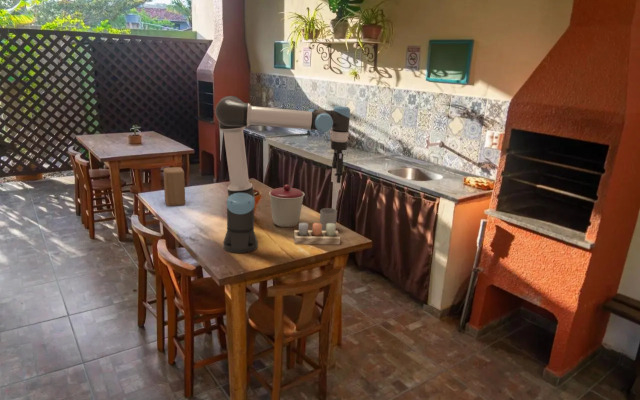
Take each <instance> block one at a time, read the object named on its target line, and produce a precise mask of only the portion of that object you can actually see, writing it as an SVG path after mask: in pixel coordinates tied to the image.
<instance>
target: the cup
mask: <svg viewBox="0 0 640 400" xmlns="http://www.w3.org/2000/svg"><path fill="white" fill-rule="evenodd" d="M319 214H320V215H319V223H321V224H322V231H326V224H327V223H334V224H336V225H337V220H338V219H337V217H338V210H337V209H335V208H330V207H329V208H328V207H325V208H321V209H320V211H319ZM336 229H337V228H336ZM336 229H335V230H336ZM336 231H337V230H336Z"/></svg>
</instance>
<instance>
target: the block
mask: <svg viewBox="0 0 640 400" xmlns="http://www.w3.org/2000/svg"><path fill="white" fill-rule="evenodd" d="M185 181H186V180H185V171H184V169H183V168H182V167H180V166H177V167H165V168H163V185H164V187H163V188H164V202H165V204H166V206H167V207H173V206H184V205H186V189H185V188H186V187H185V184H186V183H185Z"/></svg>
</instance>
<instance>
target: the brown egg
mask: <svg viewBox="0 0 640 400" xmlns="http://www.w3.org/2000/svg"><path fill="white" fill-rule="evenodd" d="M311 230H312V235H314V236H321V235H322V224H321V223H320V222H313V223H312V229H311Z"/></svg>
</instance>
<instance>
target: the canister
mask: <svg viewBox="0 0 640 400" xmlns="http://www.w3.org/2000/svg"><path fill="white" fill-rule="evenodd" d="M268 196H270V198H269V199H270V209H271V217H272V222H273V224H274V225H276V226H278V227H281V228H290V227H296V226H297V225H299V223H300V218H301V214H302V207H303V201H304V197H305V192H304V191H302V190H300V189H298V188H294V187H291V185H290V184H284V185H283V187H277V188H273V189H272V190H270V191H269V192H268Z"/></svg>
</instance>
